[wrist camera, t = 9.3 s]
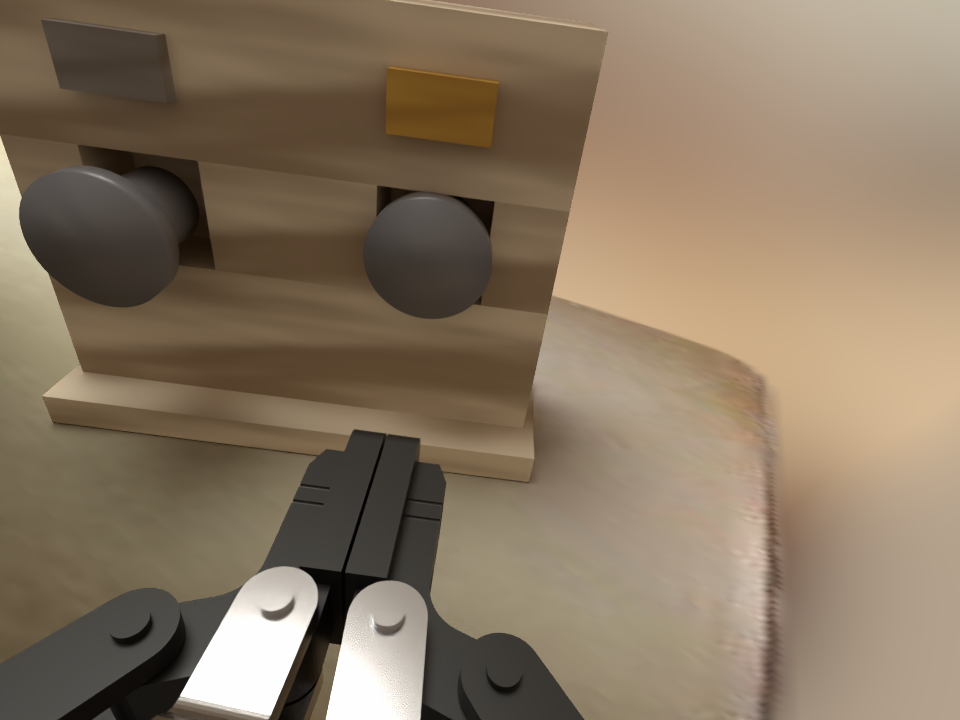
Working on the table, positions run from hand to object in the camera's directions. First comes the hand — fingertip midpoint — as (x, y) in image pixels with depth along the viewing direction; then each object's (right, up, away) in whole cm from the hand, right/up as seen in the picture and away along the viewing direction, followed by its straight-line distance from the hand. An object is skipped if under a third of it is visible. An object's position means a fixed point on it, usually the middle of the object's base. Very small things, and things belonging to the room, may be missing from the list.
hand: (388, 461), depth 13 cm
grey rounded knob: (0, +5, +11) cm, 12 cm away
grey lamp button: (-11, +5, +9) cm, 15 cm away
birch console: (-6, 0, +16) cm, 17 cm away
